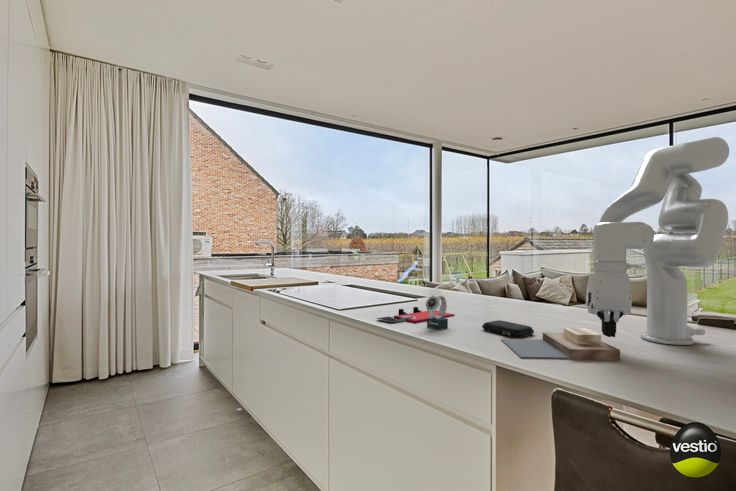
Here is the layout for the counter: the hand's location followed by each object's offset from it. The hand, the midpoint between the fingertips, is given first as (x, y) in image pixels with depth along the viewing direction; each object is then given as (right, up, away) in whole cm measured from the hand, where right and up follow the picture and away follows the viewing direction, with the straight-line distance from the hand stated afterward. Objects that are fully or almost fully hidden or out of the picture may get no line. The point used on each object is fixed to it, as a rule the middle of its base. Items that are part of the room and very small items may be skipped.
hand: (608, 335), depth 105 cm
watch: (-41, -4, +29) cm, 51 cm away
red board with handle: (-47, -4, +46) cm, 66 cm away
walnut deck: (-8, -4, +1) cm, 9 cm away
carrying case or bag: (-20, -4, +21) cm, 30 cm away
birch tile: (-7, -1, +1) cm, 7 cm away
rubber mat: (-20, -4, +1) cm, 20 cm away
